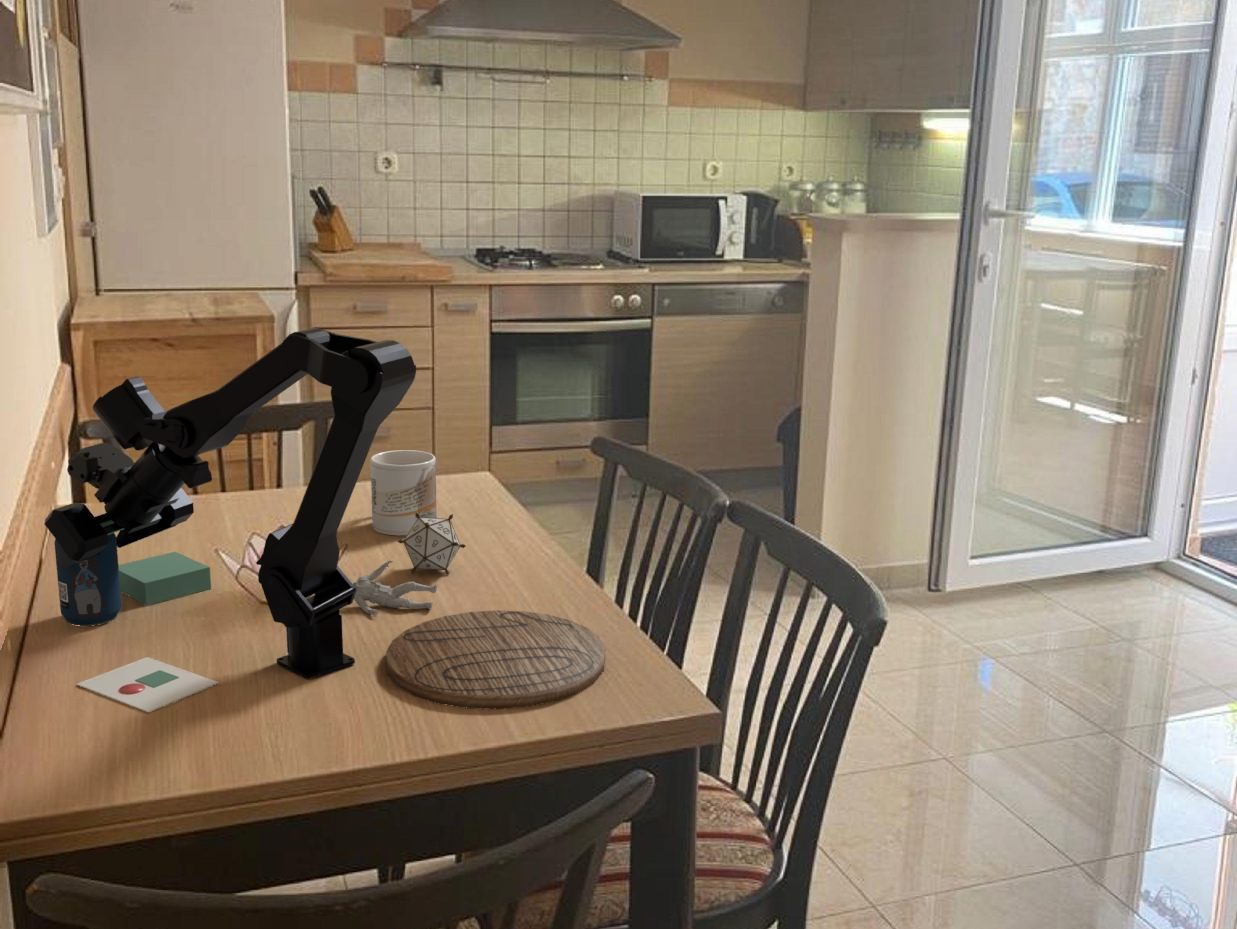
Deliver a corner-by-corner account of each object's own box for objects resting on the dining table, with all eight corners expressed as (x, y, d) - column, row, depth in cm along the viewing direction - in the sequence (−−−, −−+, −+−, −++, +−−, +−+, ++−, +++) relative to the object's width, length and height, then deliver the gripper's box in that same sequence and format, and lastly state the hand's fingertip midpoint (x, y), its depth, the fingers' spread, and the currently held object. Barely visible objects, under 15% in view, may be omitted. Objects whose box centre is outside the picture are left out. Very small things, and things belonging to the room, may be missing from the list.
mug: (356, 531, 191) (354, 461, 188) (392, 510, 202) (391, 444, 199) (419, 539, 188) (418, 467, 185) (452, 517, 199) (451, 450, 197)
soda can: (104, 604, 159) (96, 513, 156) (133, 617, 155) (126, 524, 152) (50, 619, 154) (42, 525, 151) (79, 633, 150) (71, 537, 147)
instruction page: (218, 683, 137) (218, 681, 136) (148, 713, 129) (148, 710, 129) (147, 658, 143) (147, 656, 143) (76, 685, 135) (76, 682, 135)
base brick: (211, 588, 165) (209, 567, 165) (146, 605, 159) (144, 583, 158) (172, 570, 172) (170, 549, 171) (108, 585, 166) (106, 564, 165)
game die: (444, 592, 177) (484, 534, 177) (429, 591, 168) (472, 530, 169) (393, 556, 178) (434, 498, 178) (377, 553, 169) (419, 492, 170)
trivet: (369, 638, 151) (368, 623, 151) (565, 615, 160) (566, 601, 159) (410, 726, 129) (410, 709, 128) (637, 694, 137) (638, 678, 137)
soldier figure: (426, 627, 157) (332, 600, 155) (420, 640, 161) (328, 614, 159) (441, 572, 161) (350, 545, 159) (435, 586, 165) (345, 560, 163)
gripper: (169, 411, 154) (106, 486, 161) (49, 441, 138) (-15, 524, 145) (224, 480, 154) (159, 553, 160) (110, 520, 137) (43, 599, 144)
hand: (89, 555), depth 152 cm, fingers open, 9 cm apart
